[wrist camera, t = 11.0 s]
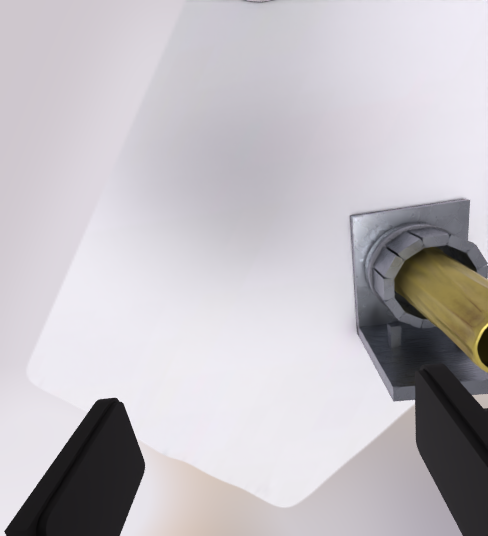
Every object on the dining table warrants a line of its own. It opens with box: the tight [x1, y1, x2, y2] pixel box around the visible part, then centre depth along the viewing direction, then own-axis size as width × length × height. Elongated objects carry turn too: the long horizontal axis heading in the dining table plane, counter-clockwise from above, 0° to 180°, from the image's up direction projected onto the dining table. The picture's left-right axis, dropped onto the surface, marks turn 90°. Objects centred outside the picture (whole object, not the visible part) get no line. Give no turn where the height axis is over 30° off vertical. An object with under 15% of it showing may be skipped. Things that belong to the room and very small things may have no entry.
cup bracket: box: [350, 199, 488, 401], centre depth 31 cm, size 15×12×12 cm
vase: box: [394, 247, 488, 373], centre depth 27 cm, size 6×6×14 cm
